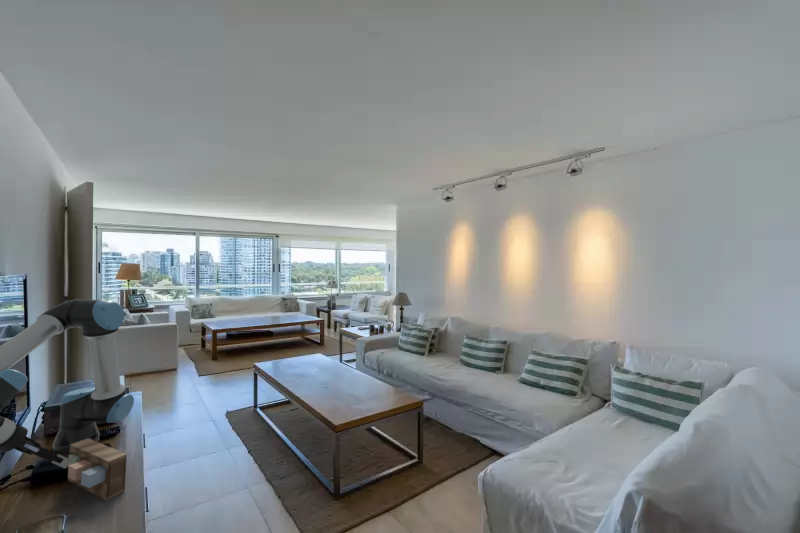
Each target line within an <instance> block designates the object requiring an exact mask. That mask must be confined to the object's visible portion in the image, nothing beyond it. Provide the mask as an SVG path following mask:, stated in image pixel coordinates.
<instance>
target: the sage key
mask: <svg viewBox="0 0 800 533" xmlns="http://www.w3.org/2000/svg"><path fill="white" fill-rule="evenodd" d="M67 458H68V459H70V460H72V461H71V463H70V464H69V465H72V464H74V463H77V462H79V461H80V456H79V455H77V454H74V453H73V454H70V455H69V454H68V457H67ZM69 465H68V466H69ZM68 466H67V467H68Z"/></svg>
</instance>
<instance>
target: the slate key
mask: <svg viewBox="0 0 800 533" xmlns="http://www.w3.org/2000/svg"><path fill="white" fill-rule="evenodd" d="M105 478H106V468H105V467H103V466H100V465H98V466H95V467H93V468H90V469H88V470H86V471H83V472H82V474H81V485H83V486H85V487H87V488H90V487H92V486H94V485H97V484H99V483H101V482H103V481H105Z"/></svg>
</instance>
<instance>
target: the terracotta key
mask: <svg viewBox="0 0 800 533" xmlns="http://www.w3.org/2000/svg"><path fill="white" fill-rule="evenodd" d="M92 464H93V462H92V461H90V460H87V459H85V460H82V461H79V462H77V463H74V464H72V465H69V466H67V467H68V468H67V479H68V478H70V479H72V480H74V481H77V480H79V479H81V474H82V472H83V471H86V470H88V469H90V468H92Z"/></svg>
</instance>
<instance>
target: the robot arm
mask: <svg viewBox="0 0 800 533" xmlns="http://www.w3.org/2000/svg"><path fill="white" fill-rule="evenodd" d="M124 321H125V311H124V308H123V307H122V306H121V304H119V303H118V302H116V301H114V300H108V299H85V298H84V299H83V298H76V299H70V300H67V301H64V302H62V303H59V304H58V305H55V306H53V307H51V308H49V309H48V310H45V312H42V313H41V314H40V315H39V316H37V318H36V321H34V322H33V323H31V324H30V325H29V326H27V327H26V328H25V329H23V330H21V331H20V332H18V333H17V334H16V335H14V336H13V337H11V338H10V339H8V340H7V341H5V342H4V343H2V344H1V345H0V413H1V412H2V411H3V409H4V408H5V407H6V406H7V405H8V404H9V403H10V402H11V401H12V400H13V399H14V397H15V396H16V395H18V393H19V392H20V391H22V389H23V388H24V386H26V384H27V383H28V380H29V379H28V376H27V375H26V374H25V373H24V372H22V371H19V370H17V369H12V367H13V366H14V365H16V364H17V363H19V362H20V361H22V360H23V359H24V358H25V357H27V356H28V355H29V354H31V353H32V352H33V351H35V350H36V349H37V348H38V347H40V346H41V345H42V344H44V343H45V342H47V341H48V340H49V339H51V338H52V337H53V336H55V335H60V334H62V333H63V332H65V331H67V330H68V329H73V328H74V329H75V328H77V329H78V328H79V329H81V334H82V336H83V337H84V338H86V339H87V341H88V348H89V356H90V364H91V365H90V366H91V370H92V372H91V373H92V379H93V386H92V387H84V388H79V389H75V390H71V391H68V392H67V393H65V394H63V395H62V396H61V400H60V406H59V407H60V410H59V430H58V432H57V434H56V436H55V438H54V440H53V442H52V449H51V450H49V449H48V448H45V447H43V446H41V444H40V443H39V442H37V441H35V439H33V438H31V437H28V433H29V430H28V428H27V427H24V426H22V425H21V424H18V423H16V422H14V421H13V420H10V419H9V418H7V417H4V416H2V415H0V452H1V453H8V452H10V451H12V450H16V451H18V452H21V453H25V454H27V455H30V456H32V455H34V456H37V457H38V458H40V459H43V460H46V461H45V463H46V464H49V463H52V464H54V465H56V466H59V467H61V468H62V469H67V467H68V465H69V464H70V463H71V461H72V460H70V459H68V458H69V457H65V456H63V455H62V454H59V453H69V451H70V444H72V443H75V442H78V441H81V440H84V439H87V438H89V439H91V440H94V441H96V442H98V443H99V441H100V438H99V437H101V434H100V431H99V429H98V426H97V424H96V423H98V422H99V423H108V424H111V423H120V422H122V421H124V420H125V419H126V418H127V417H128V416H129V414H130V413H131V410H132V409H133V406H134V402H135V398H134V396H133V395H132V394H130V393H127V390H126V386H125V385H123V384H122V383H121V377H120V376H121V375H120V368H119V360H118V351H117V343H116V333H117V332H119V328H120V327H121V326H122V324H123V323H124Z"/></svg>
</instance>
